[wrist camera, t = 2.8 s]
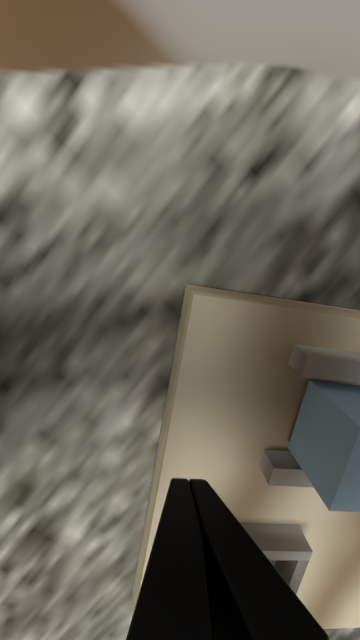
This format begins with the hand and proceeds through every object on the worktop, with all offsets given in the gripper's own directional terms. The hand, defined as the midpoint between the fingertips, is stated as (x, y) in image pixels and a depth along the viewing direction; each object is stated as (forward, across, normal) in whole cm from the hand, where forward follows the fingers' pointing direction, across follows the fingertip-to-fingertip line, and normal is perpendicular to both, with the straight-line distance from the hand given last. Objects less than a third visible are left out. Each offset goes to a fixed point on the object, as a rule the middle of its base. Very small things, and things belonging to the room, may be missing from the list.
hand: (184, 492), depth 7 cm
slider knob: (+4, -6, 0) cm, 7 cm away
